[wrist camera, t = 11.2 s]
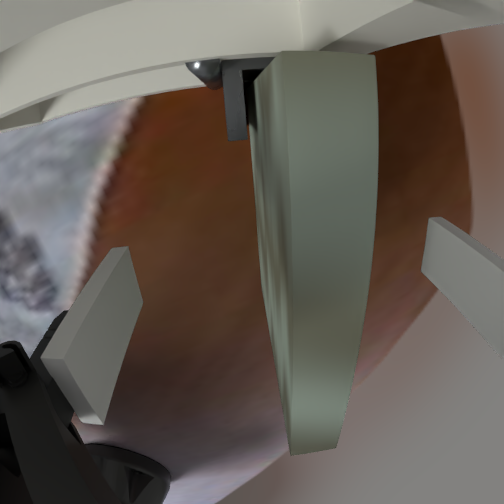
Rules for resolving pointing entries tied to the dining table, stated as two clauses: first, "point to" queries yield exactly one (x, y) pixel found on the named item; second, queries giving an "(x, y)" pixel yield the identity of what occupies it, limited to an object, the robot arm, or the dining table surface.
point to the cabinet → (187, 42)
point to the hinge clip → (230, 86)
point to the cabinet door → (315, 227)
